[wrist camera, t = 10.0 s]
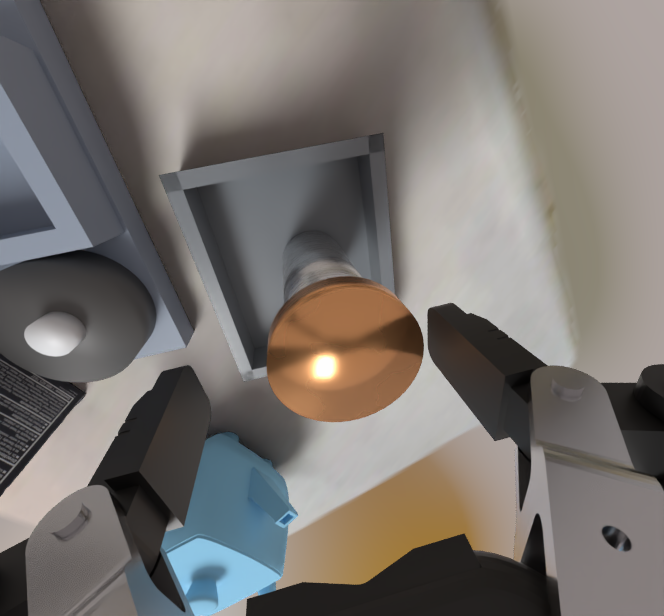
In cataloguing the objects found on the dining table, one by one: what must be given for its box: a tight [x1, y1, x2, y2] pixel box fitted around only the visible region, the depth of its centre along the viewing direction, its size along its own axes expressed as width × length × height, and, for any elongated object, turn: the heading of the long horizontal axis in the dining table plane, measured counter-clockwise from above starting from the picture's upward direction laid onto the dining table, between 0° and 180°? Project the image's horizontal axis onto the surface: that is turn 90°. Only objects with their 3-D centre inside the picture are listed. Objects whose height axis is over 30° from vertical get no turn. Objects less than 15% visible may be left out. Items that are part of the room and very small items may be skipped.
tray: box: [159, 133, 395, 382], centre depth 18 cm, size 13×11×3 cm
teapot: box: [161, 432, 298, 616], centre depth 23 cm, size 18×14×10 cm
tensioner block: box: [0, 0, 194, 382], centre depth 14 cm, size 18×8×5 cm, turn 10°
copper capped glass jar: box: [266, 231, 424, 422], centre depth 14 cm, size 5×5×11 cm
